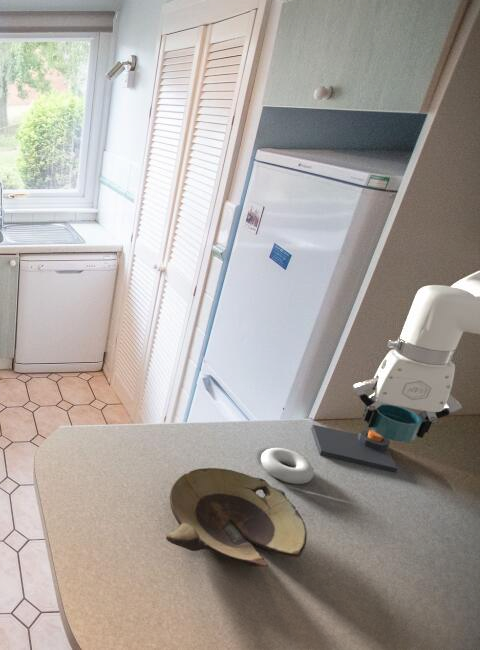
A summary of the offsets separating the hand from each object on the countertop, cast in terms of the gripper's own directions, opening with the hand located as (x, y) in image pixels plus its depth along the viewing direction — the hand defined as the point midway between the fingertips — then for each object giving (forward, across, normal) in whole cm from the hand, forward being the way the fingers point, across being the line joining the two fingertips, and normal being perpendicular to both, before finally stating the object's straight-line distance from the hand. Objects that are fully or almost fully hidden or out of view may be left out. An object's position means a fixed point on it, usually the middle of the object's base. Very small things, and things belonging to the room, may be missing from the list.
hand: (392, 428), depth 91 cm
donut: (+16, -15, -1) cm, 22 cm away
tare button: (+13, +5, +16) cm, 22 cm away
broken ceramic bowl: (+16, -30, -25) cm, 42 cm away
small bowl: (+1, 0, 0) cm, 1 cm away
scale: (+16, 0, +14) cm, 21 cm away
